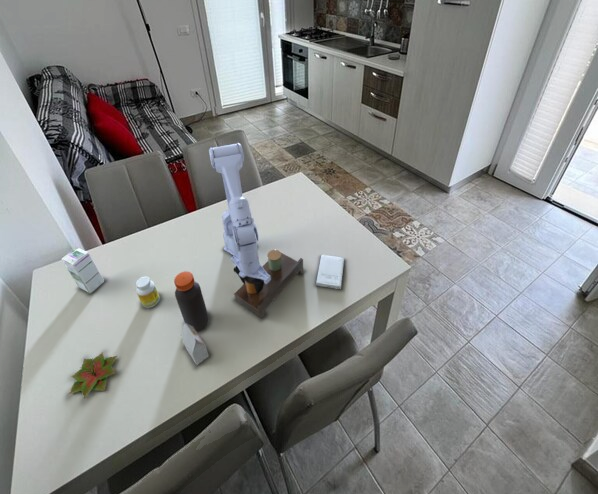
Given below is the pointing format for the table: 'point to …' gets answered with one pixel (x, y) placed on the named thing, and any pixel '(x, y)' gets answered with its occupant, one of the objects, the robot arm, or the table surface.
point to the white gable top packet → (194, 343)
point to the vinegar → (191, 301)
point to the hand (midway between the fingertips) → (252, 286)
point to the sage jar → (274, 260)
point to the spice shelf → (270, 285)
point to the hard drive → (330, 272)
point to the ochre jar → (249, 285)
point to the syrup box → (83, 270)
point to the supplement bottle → (147, 292)
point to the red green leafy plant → (93, 374)
